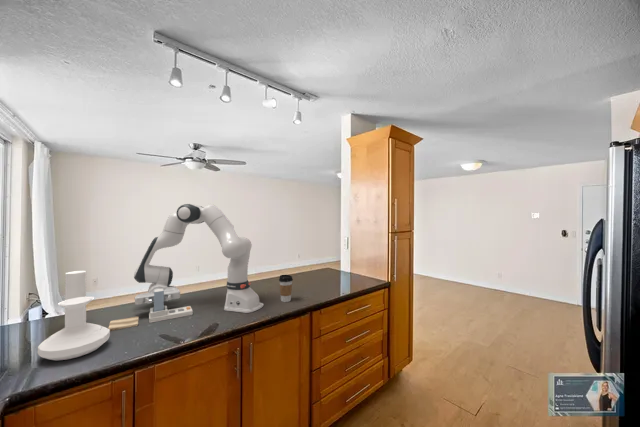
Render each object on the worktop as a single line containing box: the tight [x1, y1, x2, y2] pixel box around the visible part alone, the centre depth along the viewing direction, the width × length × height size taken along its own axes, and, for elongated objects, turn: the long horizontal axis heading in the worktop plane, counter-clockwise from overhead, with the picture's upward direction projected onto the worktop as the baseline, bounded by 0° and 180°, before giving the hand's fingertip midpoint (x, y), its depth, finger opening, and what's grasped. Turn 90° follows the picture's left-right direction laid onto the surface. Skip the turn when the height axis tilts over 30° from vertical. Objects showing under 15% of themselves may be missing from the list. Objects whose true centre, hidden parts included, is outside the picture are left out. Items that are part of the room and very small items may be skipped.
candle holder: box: [37, 296, 111, 362], centre depth 99 cm, size 20×20×19 cm
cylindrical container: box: [64, 270, 87, 328], centre depth 122 cm, size 7×7×25 cm
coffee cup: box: [278, 274, 294, 303], centre depth 160 cm, size 8×8×15 cm
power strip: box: [148, 305, 194, 324], centre depth 135 cm, size 19×9×4 cm, turn 124°
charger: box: [153, 289, 165, 312], centre depth 132 cm, size 5×4×12 cm
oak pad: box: [107, 315, 139, 332], centre depth 124 cm, size 11×11×1 cm
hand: (158, 300), depth 131 cm, fingers open, 6 cm apart
